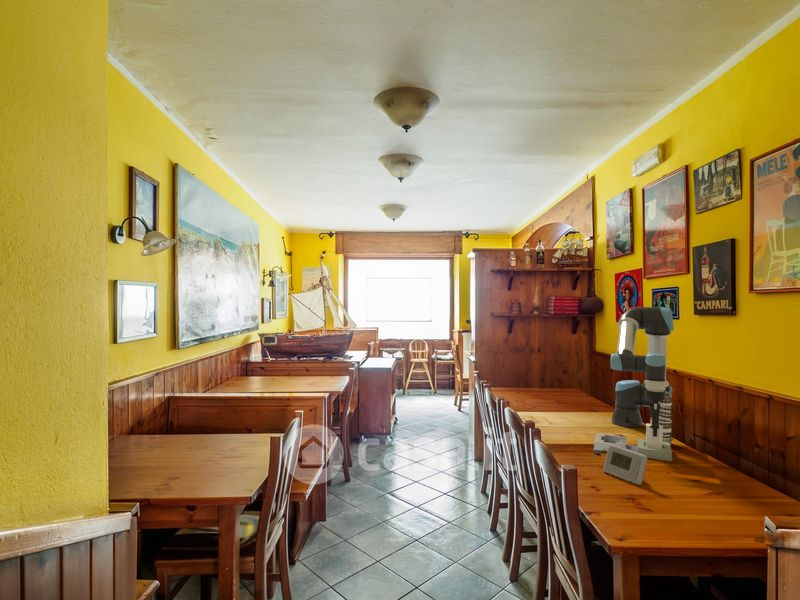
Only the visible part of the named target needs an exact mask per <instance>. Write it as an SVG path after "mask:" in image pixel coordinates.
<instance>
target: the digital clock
mask: <svg viewBox="0 0 800 600" xmlns="http://www.w3.org/2000/svg"><path fill="white" fill-rule="evenodd" d="M648 460H649V458H648V457H647V456H645V455H643V454H640V453H638V452H635V451H632V450H629V449H626V448H623V447H620V446H616V445H613V444H610V445H609V448H608V452H606V455H605V460H604V464H603V467H602V469H603V470H602V471H603V472H604V473H606V474H609V475H610V476H612V475H614V476H613V477H615V476H616V477H615V478H617V477H619V478H618V479H620V478H621V479H620V480H622V479H624V480H623V481H625V480H627V481H629V482H628V483H630V482H632V483H631V484H634V485H636V484H637V486H641V485H642V484H643V481H644V476H645V473H646V468H647V464H648ZM627 481H626V482H627Z"/></svg>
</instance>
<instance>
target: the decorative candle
mask: <svg viewBox="0 0 800 600" xmlns="http://www.w3.org/2000/svg"><path fill="white" fill-rule="evenodd" d="M664 392H665V391H664ZM672 397H673V395H672V396H671V395H670V394H669V393H668V392H665V400H663V401H658V403H659V404H660V414H659V425H662V427H663V436H662V442H668V443H670V446H671V445H672V442H673V441H672V440H673V439H672V437H673V436H672V435H673V434H672V433H673V432H672V423H673V420H672V419H673V415H674V414H673V413H672V411H674V408H673V407H674V405H673V403H672Z"/></svg>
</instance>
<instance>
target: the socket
mask: <svg viewBox="0 0 800 600" xmlns="http://www.w3.org/2000/svg"><path fill="white" fill-rule="evenodd" d="M610 444H613V445H616V446H620V447H623V448H626V444H627V436H624V435H622V436H621V435H615V434H610V433H609V434H607V433H601V432H600V433H599V432H596V433H595V437H594V441H593V449H594V450H600V451H602V452H605V451H607V452H608V448H609V445H610ZM607 452H606V453H607Z"/></svg>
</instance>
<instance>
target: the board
mask: <svg viewBox="0 0 800 600" xmlns="http://www.w3.org/2000/svg"><path fill="white" fill-rule="evenodd" d="M626 449H629V450H632V451H635V452H638V445H633V444H627V443H626ZM592 451H593V452H592V453H593V454H597V455H598V454H599V455H602V453H603V451H600V450H594V448H593V449H592ZM604 452H606V453H607V451H604ZM650 459H651V460H654V459H653V458H650ZM657 460H659V461H661V460H660V459H657ZM664 461H666V462H668V461H667V460H664ZM670 462H673V460H672V461H670Z"/></svg>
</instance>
